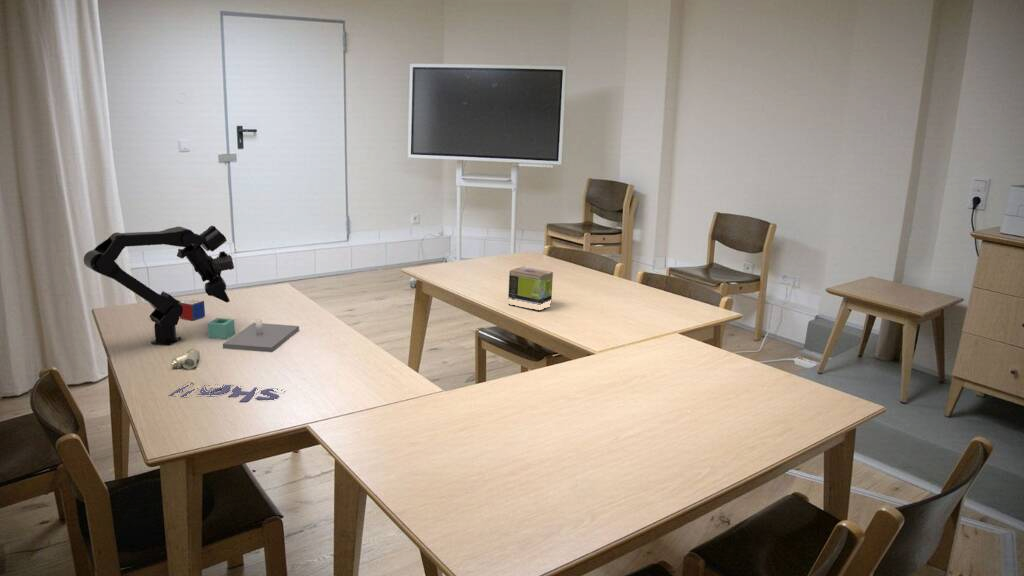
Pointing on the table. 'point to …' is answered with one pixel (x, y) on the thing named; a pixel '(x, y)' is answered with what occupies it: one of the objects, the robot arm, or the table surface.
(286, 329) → the peg board
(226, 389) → the signage
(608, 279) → the table surface
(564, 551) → the table surface
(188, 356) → the pipe fitting
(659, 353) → the table surface
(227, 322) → the bead
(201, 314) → the puzzle
